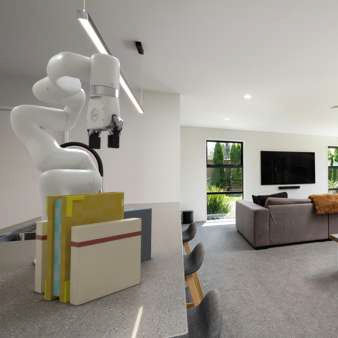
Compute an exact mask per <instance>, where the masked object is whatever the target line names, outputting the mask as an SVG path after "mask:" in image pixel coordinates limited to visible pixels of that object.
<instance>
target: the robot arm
mask: <svg viewBox="0 0 338 338" xmlns="http://www.w3.org/2000/svg"><path fill="white" fill-rule="evenodd" d="M120 75H121V63H120V60H119V58H117V57H115V56H113V55H110V54H107V53H101V52H97V53H92V55H91V56H90V57H88V56H85V55H82V54H78V53H76V52H73V51H72V52H71V51H61V52H59V53H57V54H55V55H53V56H51V57H50V59H49V60H48V62H47V65H46V76H45V77H43V78H41V79H39V80H38V81H36V82H35V83H34V84H33V85H32V89H31V91H32V94H33V96H34V97H35V98H37V99H38V100H40V101H42V102H44V103H47V104H51V105H57V106H62V107H64V108H63V109H59V108H54V107H48V106H42V105H36V104H20V105H16V106H14V107H13V108H12V109H11V111H10V116H9V119H10V125H11V128H12V130H13V133H14V134H15V136H16V137H17V138H18V139H19V140H20V142H22V144H23V145H24V146H25V148H26V149H27V152H28V154H29V156H30V158H31V160H32V162H33V164H34V166H35V168H36V169H37V170H38V171H39V172H41V174H40V175H39V177H38V179H37V180H38V182H37V183H38V189H39V194H40V200H41V221H44V220H48V216H46V210H47V196H53V195H71V194H86V193H100V191H101V189H102V188H103V178H102V176H101V173H100V171H99V169H98V168H97V166H96V164H95V162H94V160H93V159H92V157H91V155H90V154H89V153H88V152H86V151H84V150H82V149H76V148H65V147H61V145H59V143H58V141H57V140H56V138H55V137H54V136H52V135H51V134H50V133H49V132H47V131H57V132H69V131H72V130H73V129H74V128H75V126H76V124H77V122H78V119H79V117H80V115H81V112H82V110H83V108H84V106H85V103H86V99H87V98H86V93H85V91H84V89H83V88H82V82H81V81H85V82H88V83H89V100H88V105H87V111H86V112H87V113H86V122H85V123H86V126H85V127H86V132H87V136H88V149H89V150H100V149H101V145H102V143H101V142H102V141H101V140H102V137H101V134H102V132H107V133H108V134H107V144H106V145H107V148H108V149H118V150H119V149H120V139H121V137H120V136H121V135H122V133H121V132H122V131H123V125H124V122H125V121H124V120H123V119H121V108H120V84H121V83H120V80H121V79H120V78H121V76H120ZM80 80H81V81H80ZM45 130H47V131H45ZM35 261H36V258H35V259H34V260H33V264H35Z"/></svg>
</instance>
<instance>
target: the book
mask: <svg viewBox="0 0 338 338" xmlns="http://www.w3.org/2000/svg"><path fill="white" fill-rule="evenodd" d="M124 209H125V192H124V191H105V192H103V191H102V192H97V193H86V194H71V195H53V196H47V210H46V216H48V224H47V269H46V279H45V292H44V296H43V300H45V301H53V300H55V299H58V298H59V300H58V301H59V303H70V273H71V228H72V227H73V226H80V225H87V224H94V223H101V222H108V221H116V220H123V219H124Z"/></svg>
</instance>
